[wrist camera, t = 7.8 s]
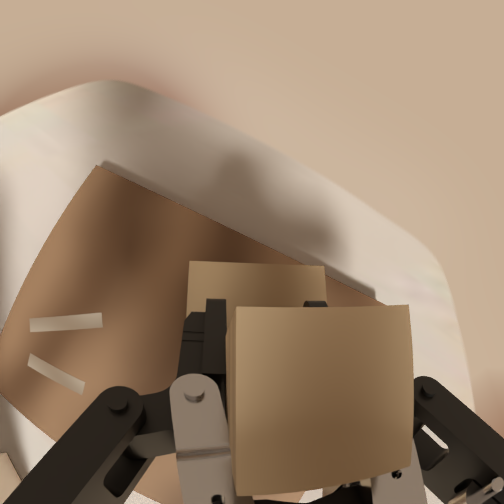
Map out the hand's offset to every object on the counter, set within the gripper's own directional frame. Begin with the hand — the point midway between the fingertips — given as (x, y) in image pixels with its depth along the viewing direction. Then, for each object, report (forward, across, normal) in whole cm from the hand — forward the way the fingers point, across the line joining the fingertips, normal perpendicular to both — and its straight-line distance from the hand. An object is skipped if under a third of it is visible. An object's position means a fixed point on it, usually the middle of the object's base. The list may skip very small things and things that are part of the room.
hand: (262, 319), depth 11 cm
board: (+3, +4, +5) cm, 7 cm away
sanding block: (+1, 0, +5) cm, 5 cm away
